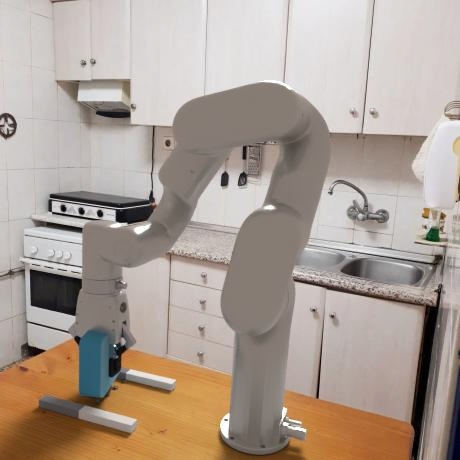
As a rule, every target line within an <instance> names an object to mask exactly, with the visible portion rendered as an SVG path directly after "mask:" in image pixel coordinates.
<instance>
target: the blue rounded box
mask: <svg viewBox="0 0 460 460" xmlns="http://www.w3.org/2000/svg"><path fill="white" fill-rule="evenodd" d="M122 339H123V338H121V340H122ZM116 349H117V347H116ZM111 357H112V356H111V353H110V349H109V344H108V335H107V334H101V333H96V332H92V331H87V332H86V333H85V334H84V335H83V336H82V338H81V340H80V343H79V346H78V394H79V396H82V397H91V398H100V399H102V398H104V397H106V396H105V394H106V393H108V391H109V390H110V389H111V387H112V385H113V384H114V382H115V381H116V380H117V376H118V375H119V373H120V372H119V373H118V374H116V375H115V376H114V377H112V378H111V377H109V358H111Z"/></svg>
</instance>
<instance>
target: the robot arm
mask: <svg viewBox="0 0 460 460" xmlns="http://www.w3.org/2000/svg"><path fill="white" fill-rule="evenodd" d="M171 126H172V127H171V130H172V136H173V139H174V140H175V143H176V144H175V146H174V148H173V149H172V151H171V152H170V154H169V155H168V156H167V158H166V159H165V161H164V162H163V163H162V165H161V166H160V168H159V169H158V173H157V176H158V177H157V178H158V180H159V182H160V184H161V185H162V187H163V190H162V191H163V192H162V194H161V197H160V200H159V201H158V202H159V203H157V205H156V207H155V209H154V210H153V212H152V213H151V214H150V216H149V217H148V219H147V220H146V221H143V222H140V223H135V224H132V225H127V226H123V225H122V224H121V223H119V222H118V221H115V220H108V219H107V220H105V219H101V220H100V219H98V220H95V219H94V220H90V221H87V222H86V223H84V225H83V226H82V235H81V238H82V242H81V247H82V248H81V252H82V253H81V256H82V258H81V259H82V260H81V261H82V262H81V289H79V291H78V292H79V293H78V295H77V302H76V310H75V321H74V323H73V324H72V325H71V326H70V327H69V328H68V329H67V330H68V333H69V334H70V336H71V337H72V338H73V340H74V342H75V343H76V345H77V346H78V347H79V343H80V340H81V338H82V336H83V335H84V334H85V333H86V332H87V331H92V332H96V333H101V334H107V335H108V344H109V349H110V353H111V356H112V357H111V358H109V377H111V378H112V377H114V376H115V375H116V374H118V373H119V372H120V370H121V367H122V357H123V356H122V355H123V354H124V353H126V352H127V351H128V350H129V349H131V347H134V346H135V345H136V344H137V339H136V338H135V337H134V335H133V334H132V332H131V319H130V317H131V316H130V307H129V300H128V296H127V292H126V289H127V288H128V282H125V281H123V280H124V276H123V268H127V269H129V268H130V269H133V268H138V267H141V266H143V265H145V264H147V263H149V262H152V261H154V260H157V259H159V258H162V257H163V256H165V255H166V254H167V253H168V252H169V251H170V250H171V249H172V248H173V246H175V244H176V243H177V241H178V240H179V238H180V237H181V236H182V235H183V233H184V232H185V230H186V229H187V228H188V226H189V224H190V222H191V221H192V218H193V216H194V214H195V211H196V208H197V207H198V202H199V200H200V198H201V196H202V194H203V193H204V192H205V191H206V189H207V187H208V186H209V184H210V183H211V182H212V180H213V179H214V178H215V176H216V175H217V174H218V172H219V171H220V170H221V168H222V167H223V165H224V164H225V162H226V161H227V159H228V158H229V157H230V156H231V154H232V152H233V151H234V150H235V148H240V147H245V146H249V145H255V144H261V143H266V142H272V143H276V144H277V145H278V148H279V149H278V150H279V152H278V156H277V159H276V162H275V165H274V167H273V169H272V173H271V176H270V180H269V184H268V188H267V191H266V195H265V198H264V200H263V203H262V204H261V207H258V208H257V209H255V210H253V211H252V212H251V213H250V214H248V215H247V217H246V218H245V220H243V222H242V224H241V226H240V228H239V229H238V232H237V235H236V238H235V241H234V245H233V249H232V251H231V256H230V260H229V264H228V266H227V267H228V268H227V270H226V273H225V278H224V282H223V285H222V289H221V293H220V302H219V303H220V305H219V306H220V311H221V315H222V318H223V321H225V323H226V325H227V326H228V327H229V328H230V329H231V330H232V331H233V332H234V338H233V340H234V341H233V353H232V355H233V356H232V371H231V384H230V402H229V413H227V414H226V415H224V416H223V418H222V419H221V421H220V425H219V434H220V437H221V438H222V440H223V441H224V443H226V445H228V446H229V447H231V448H232V449H235V450H236V451H239V452H241V453H243V454H244V453H246V454H250V455H259V456H260V455H261V456H262V455H270V454H274V453H276V452H279V451H280V450H283V449H284V448H285V447H286V446H287V445H288V443H289V442H290V438H294V439H295V440H299V441H303V442H306V438H307V431H308V430H307V429H306V428H303V427H302V426H303V421H301V420H296V419H295V420H294V419H290V417H289V416H287V414H288V408H285V407H284V405H285V391H286V383H287V381H286V379H287V371H288V357H289V349H290V339H291V338H290V337H291V331H292V330H291V329H292V323H293V316H294V311H295V302H296V283H295V280H294V278H293V272H294V270H295V266H296V263H297V261H298V258H299V256H300V255H301V254H302V252H304V250H305V249H306V247H307V245H308V243H309V241H310V238H311V231H312V227H313V223H314V221H315V217H316V213H317V211H318V207H319V203H320V200H321V196H322V192H323V188H324V184H325V182H326V177H327V174H328V170H329V167H330V164H331V163H330V162H331V157H332V139H331V134H330V133H331V132H330V130H329V126H328V124H327V121H326V120H325V118H324V116H323V115H322V113H320V111H319V110H318V109H317V107H315V105H314V104H313V103H312V102H310V100H308V99H307V98H306V97H305V96H304V95H302V94H301V93H300V92H298V91H296V90H294V88H292V87H291V86H289V85H288V84H285V83H284V82H281V81H278V80H277V81H276V80H262V81H257V82H253V83H248V84H245V85H240V86H238V87H234V88H230V89H225V90H221V91H218V92H213V93H209V94H206V95H202V96H199V97H198V96H197V97H195V98H192V99H191V100H188V101H186V102H185V103H184V104H182V105H181V107H179V108H178V110H177V111H176V113H175V115H174V118H173V120H172V125H171ZM121 338H122V339H123V340H125V341H124V342H125V343H124V344H123V340H122V339H121ZM116 347H117V349H116Z"/></svg>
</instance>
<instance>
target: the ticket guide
mask: <svg viewBox="0 0 460 460" xmlns="http://www.w3.org/2000/svg"><path fill="white" fill-rule="evenodd" d="M117 378H118V379H121V380H120V383H121V384H124V383H126V381H130V382H135V383H138V384H142V385H146V386H151V387H154V388H158V389H163V390H166V391H167V390H168V391H174V389H175V388H176V387H177V380H176V379H174V378H170V377H167V376H162V375H156V374H153V373H148V372H145V371H139V370H135V369H130V368H127V367H122V366H121V370H120V373H119V375H118V376H117ZM117 378H116V379H117ZM112 389H113V390H118V389H119V388H118V386H116V385H114V386H112ZM109 396H110V392H107V393H106V394H105V396H104V397H109ZM101 402H102V401H101V400H100V399H97V400H95V404H96V405H97V404H101ZM38 408H41V409H44V410H48V411H50V412H51V411H52V412H55V413H58V414H62V415H66V416H69V417H72V418H76V419H80V420H82V421H83V420H84V421H86V422H90V423H93V424H97V425H100V426H105V427H107V428H111V429H113V430H114V429H115V430H118V431H121V432H125V433H129V434H132V433H133V432H134V431H135V430H136V429H137V428H138V419H137V418H132V417H129V416H126V415H121V414H118V413H114V412H112V411H107V410H103V409H100V408H96V407H93V406H89V405H85V404H81V403H77V402H74V401H71V400H66V399H63V398H60V397H56V396H52V395H48V394H45V395H44V396H42V397H41V398H39V399H38Z"/></svg>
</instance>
